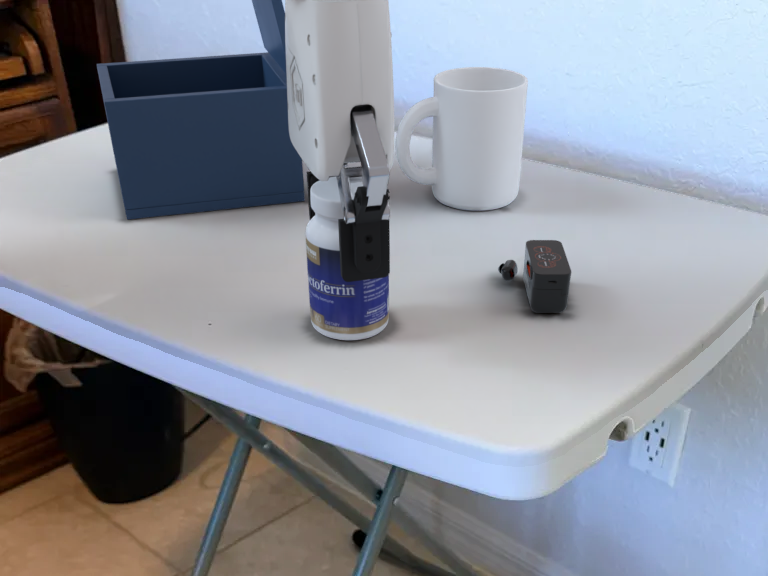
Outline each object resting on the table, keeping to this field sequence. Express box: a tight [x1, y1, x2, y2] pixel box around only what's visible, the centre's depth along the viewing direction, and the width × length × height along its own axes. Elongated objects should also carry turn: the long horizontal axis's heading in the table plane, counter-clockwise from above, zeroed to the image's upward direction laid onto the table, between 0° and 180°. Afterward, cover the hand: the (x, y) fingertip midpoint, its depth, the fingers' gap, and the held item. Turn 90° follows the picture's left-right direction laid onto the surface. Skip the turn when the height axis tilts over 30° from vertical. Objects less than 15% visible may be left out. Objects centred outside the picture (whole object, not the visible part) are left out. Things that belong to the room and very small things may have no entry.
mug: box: [394, 66, 529, 212], centre depth 84 cm, size 12×8×10 cm
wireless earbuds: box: [497, 239, 572, 314], centre depth 71 cm, size 5×7×3 cm, turn 0°
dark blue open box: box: [96, 51, 306, 221], centre depth 87 cm, size 16×13×10 cm
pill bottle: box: [305, 176, 390, 341], centre depth 64 cm, size 6×6×10 cm
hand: (348, 250), depth 64 cm, fingers open, 8 cm apart
